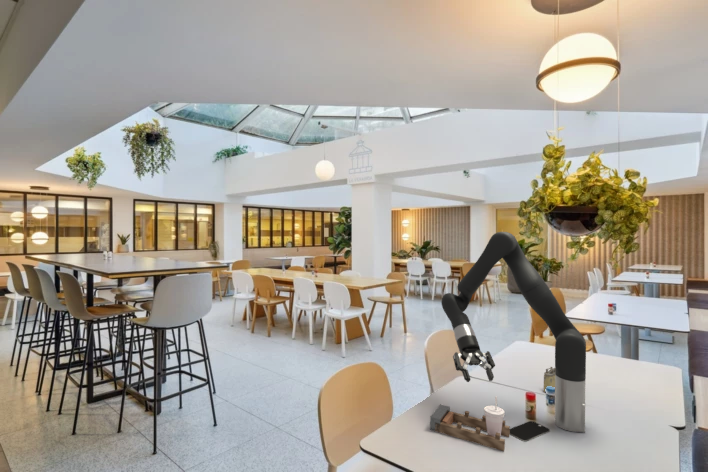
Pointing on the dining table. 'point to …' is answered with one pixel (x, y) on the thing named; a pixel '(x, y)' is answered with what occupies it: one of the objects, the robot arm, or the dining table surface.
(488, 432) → the smoothie
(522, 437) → the smartphone
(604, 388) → the dining table surface
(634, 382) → the dining table surface
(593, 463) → the dining table surface
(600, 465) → the dining table surface
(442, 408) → the block
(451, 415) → the brown pegged rack
